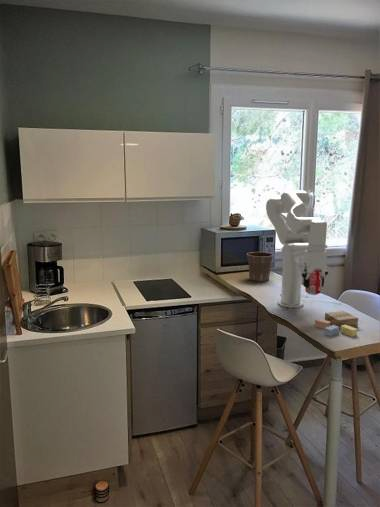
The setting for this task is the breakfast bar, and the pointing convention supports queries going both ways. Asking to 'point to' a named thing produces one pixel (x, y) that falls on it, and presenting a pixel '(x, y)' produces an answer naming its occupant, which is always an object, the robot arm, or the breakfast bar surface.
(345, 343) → the breakfast bar surface
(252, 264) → the plant pot
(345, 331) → the mustard brick
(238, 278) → the breakfast bar surface
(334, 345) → the breakfast bar surface
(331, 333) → the slate brick
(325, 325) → the terracotta brick
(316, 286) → the soda can
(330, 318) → the tan flat block
